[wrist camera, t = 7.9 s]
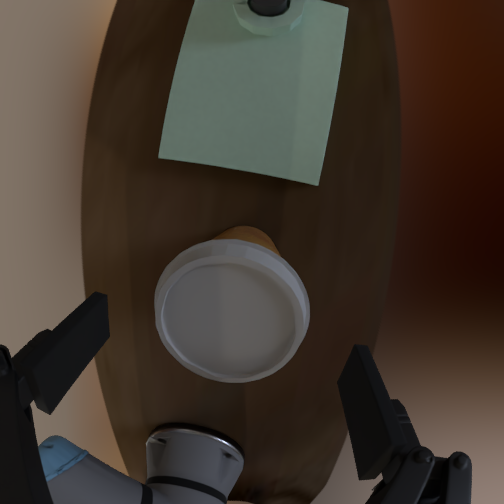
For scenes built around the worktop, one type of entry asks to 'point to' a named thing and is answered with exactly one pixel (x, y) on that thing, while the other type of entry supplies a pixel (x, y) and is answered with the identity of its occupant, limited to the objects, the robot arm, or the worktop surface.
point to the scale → (256, 88)
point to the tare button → (269, 6)
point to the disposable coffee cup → (232, 307)
